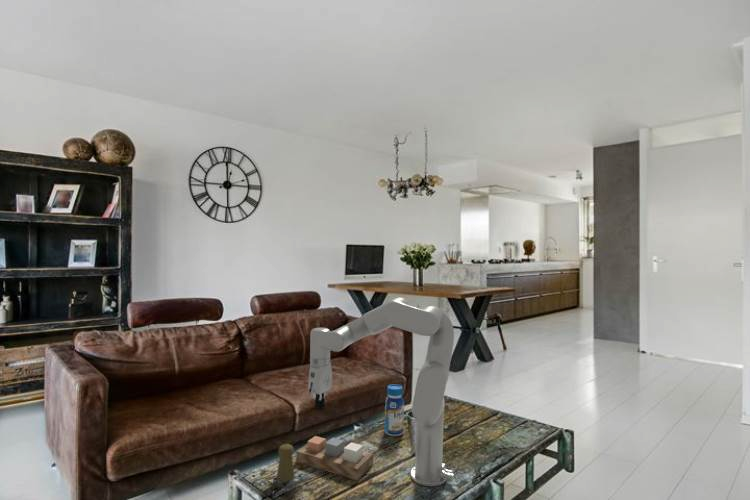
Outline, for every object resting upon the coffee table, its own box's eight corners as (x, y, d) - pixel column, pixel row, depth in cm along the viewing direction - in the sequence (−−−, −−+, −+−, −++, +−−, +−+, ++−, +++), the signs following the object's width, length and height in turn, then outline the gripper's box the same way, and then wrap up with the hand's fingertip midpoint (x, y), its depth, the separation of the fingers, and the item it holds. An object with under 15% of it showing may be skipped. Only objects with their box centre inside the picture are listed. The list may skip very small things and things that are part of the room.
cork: (287, 470, 154) (287, 440, 154) (298, 476, 150) (298, 445, 150) (273, 477, 149) (273, 446, 149) (284, 483, 146) (284, 451, 145)
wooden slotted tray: (372, 464, 159) (373, 453, 159) (357, 480, 148) (357, 468, 148) (314, 448, 171) (314, 438, 171) (296, 461, 160) (296, 451, 160)
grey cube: (343, 453, 161) (344, 440, 160) (336, 459, 156) (337, 446, 156) (332, 450, 163) (332, 437, 163) (325, 455, 158) (325, 443, 158)
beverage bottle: (392, 426, 192) (392, 382, 191) (407, 431, 187) (408, 386, 186) (380, 432, 185) (381, 386, 185) (396, 438, 180) (397, 391, 179)
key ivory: (362, 458, 157) (362, 445, 157) (355, 464, 153) (356, 451, 152) (350, 455, 159) (351, 442, 159) (343, 461, 155) (344, 448, 155)
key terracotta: (325, 451, 164) (326, 438, 164) (318, 457, 160) (318, 444, 160) (315, 448, 166) (315, 435, 166) (307, 453, 162) (307, 441, 162)
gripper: (317, 367, 153) (316, 418, 154) (339, 357, 167) (338, 404, 167) (300, 364, 157) (299, 414, 157) (322, 355, 170) (322, 401, 171)
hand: (319, 409), depth 162 cm, fingers closed
